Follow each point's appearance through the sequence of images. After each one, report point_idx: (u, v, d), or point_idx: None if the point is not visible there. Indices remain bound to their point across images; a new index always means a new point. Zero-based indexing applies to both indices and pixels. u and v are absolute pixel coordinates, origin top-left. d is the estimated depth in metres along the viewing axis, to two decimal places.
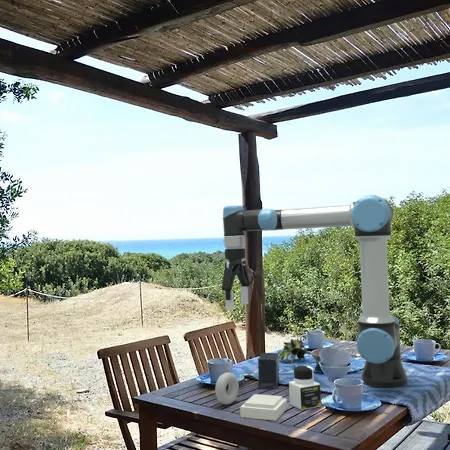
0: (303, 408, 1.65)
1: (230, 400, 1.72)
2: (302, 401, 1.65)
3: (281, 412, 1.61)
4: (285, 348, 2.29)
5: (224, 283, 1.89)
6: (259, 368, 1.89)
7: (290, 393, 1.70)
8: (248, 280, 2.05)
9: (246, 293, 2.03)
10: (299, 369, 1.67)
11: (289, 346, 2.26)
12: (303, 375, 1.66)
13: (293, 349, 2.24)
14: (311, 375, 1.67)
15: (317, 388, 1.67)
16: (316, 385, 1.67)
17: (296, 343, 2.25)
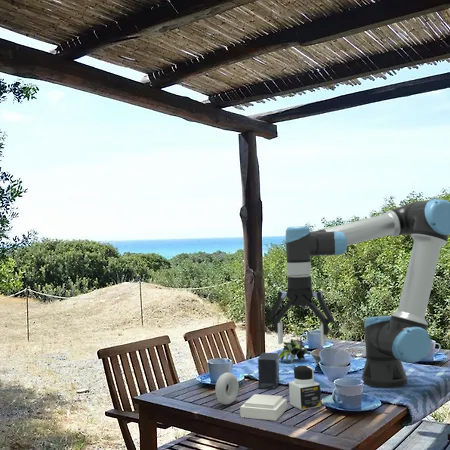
0: (303, 408, 1.65)
1: (230, 400, 1.72)
2: (302, 401, 1.65)
3: (281, 412, 1.61)
4: (285, 348, 2.29)
5: None
6: (259, 368, 1.89)
7: (290, 393, 1.70)
8: (327, 317, 1.65)
9: (321, 332, 1.66)
10: (299, 369, 1.67)
11: (289, 346, 2.26)
12: (303, 375, 1.66)
13: (293, 349, 2.24)
14: (311, 375, 1.67)
15: (317, 388, 1.67)
16: (316, 385, 1.67)
17: (296, 343, 2.25)
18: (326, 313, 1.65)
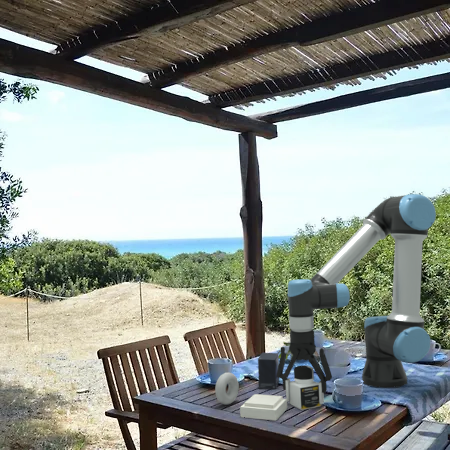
0: (303, 408, 1.65)
1: (230, 400, 1.72)
2: (302, 401, 1.65)
3: (281, 412, 1.61)
4: None
5: None
6: (259, 368, 1.89)
7: (290, 393, 1.70)
8: (326, 375, 1.65)
9: None
10: (299, 369, 1.67)
11: None
12: (303, 374, 1.66)
13: None
14: (311, 375, 1.67)
15: (317, 388, 1.67)
16: (316, 385, 1.67)
17: None
18: (325, 371, 1.65)
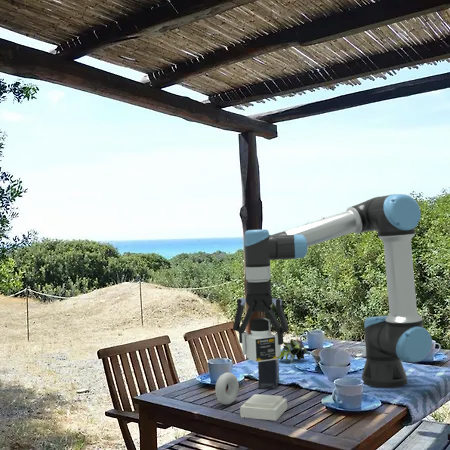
0: (258, 360, 1.60)
1: (230, 400, 1.72)
2: (257, 353, 1.60)
3: (281, 412, 1.61)
4: (284, 348, 2.29)
5: None
6: (259, 368, 1.89)
7: (247, 346, 1.65)
8: (282, 326, 1.60)
9: None
10: (255, 321, 1.62)
11: (289, 346, 2.27)
12: (259, 326, 1.61)
13: (293, 349, 2.25)
14: (267, 327, 1.62)
15: (274, 340, 1.62)
16: (272, 337, 1.62)
17: (296, 343, 2.25)
18: (282, 322, 1.60)
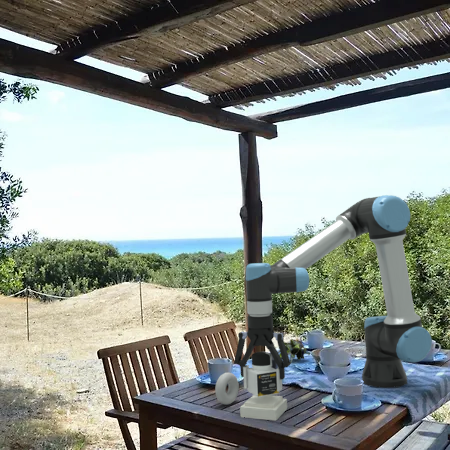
0: (260, 395, 1.59)
1: (230, 400, 1.72)
2: (259, 388, 1.59)
3: (281, 412, 1.61)
4: None
5: None
6: None
7: (248, 380, 1.65)
8: (284, 361, 1.60)
9: (277, 377, 1.61)
10: (256, 355, 1.62)
11: (288, 346, 2.27)
12: (260, 361, 1.61)
13: (292, 349, 2.25)
14: (269, 361, 1.62)
15: (275, 375, 1.62)
16: (274, 372, 1.61)
17: (295, 343, 2.25)
18: (283, 357, 1.60)
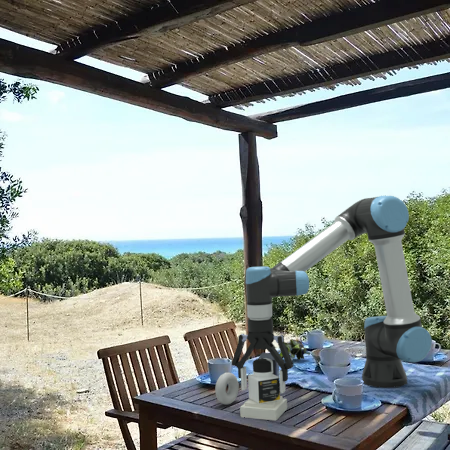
0: (261, 402, 1.59)
1: (230, 400, 1.72)
2: (260, 395, 1.59)
3: (281, 412, 1.61)
4: None
5: None
6: None
7: (249, 387, 1.65)
8: (286, 363, 1.60)
9: (280, 379, 1.61)
10: (258, 362, 1.62)
11: (288, 346, 2.27)
12: (261, 367, 1.61)
13: (292, 349, 2.25)
14: (270, 368, 1.62)
15: (276, 381, 1.62)
16: (275, 378, 1.61)
17: (295, 343, 2.25)
18: (285, 359, 1.60)
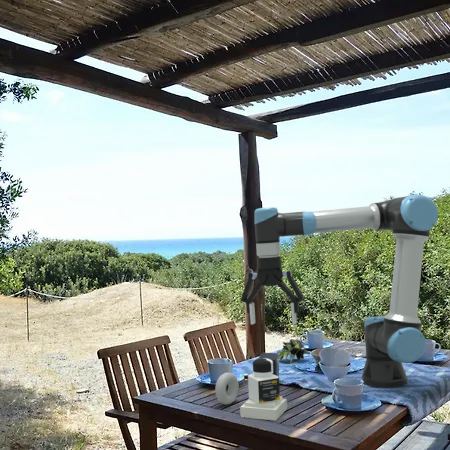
0: (261, 402, 1.59)
1: (230, 400, 1.72)
2: (260, 395, 1.59)
3: (281, 412, 1.61)
4: (284, 348, 2.29)
5: None
6: None
7: (249, 387, 1.65)
8: (297, 296, 1.68)
9: None
10: (257, 362, 1.62)
11: (288, 346, 2.27)
12: (261, 367, 1.61)
13: (292, 349, 2.25)
14: (270, 368, 1.62)
15: (276, 381, 1.62)
16: (275, 378, 1.61)
17: (295, 343, 2.25)
18: (296, 292, 1.68)
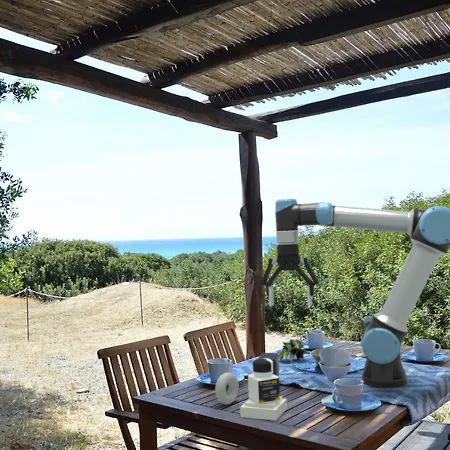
0: (261, 402, 1.59)
1: (230, 400, 1.72)
2: (260, 395, 1.59)
3: (281, 412, 1.61)
4: (284, 348, 2.29)
5: None
6: None
7: (249, 387, 1.65)
8: (313, 280, 1.83)
9: None
10: (257, 362, 1.62)
11: (288, 346, 2.27)
12: (261, 367, 1.61)
13: (292, 349, 2.25)
14: (270, 368, 1.62)
15: (276, 381, 1.62)
16: (275, 378, 1.61)
17: (295, 343, 2.25)
18: (312, 276, 1.83)
